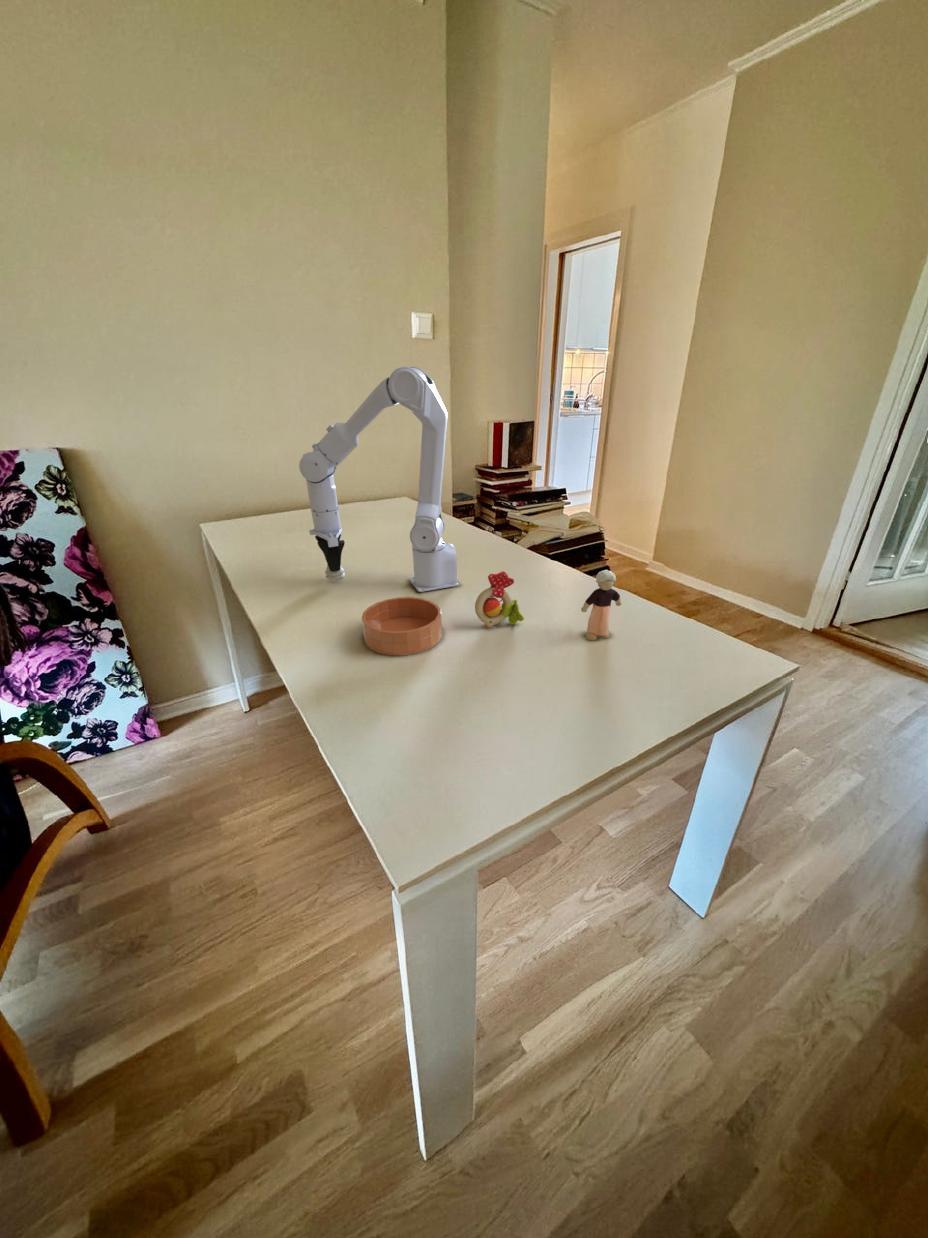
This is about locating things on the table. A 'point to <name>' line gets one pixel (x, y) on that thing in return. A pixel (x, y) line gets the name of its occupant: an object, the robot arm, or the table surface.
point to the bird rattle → (497, 602)
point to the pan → (402, 626)
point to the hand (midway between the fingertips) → (334, 567)
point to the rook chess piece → (334, 574)
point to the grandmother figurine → (601, 605)
